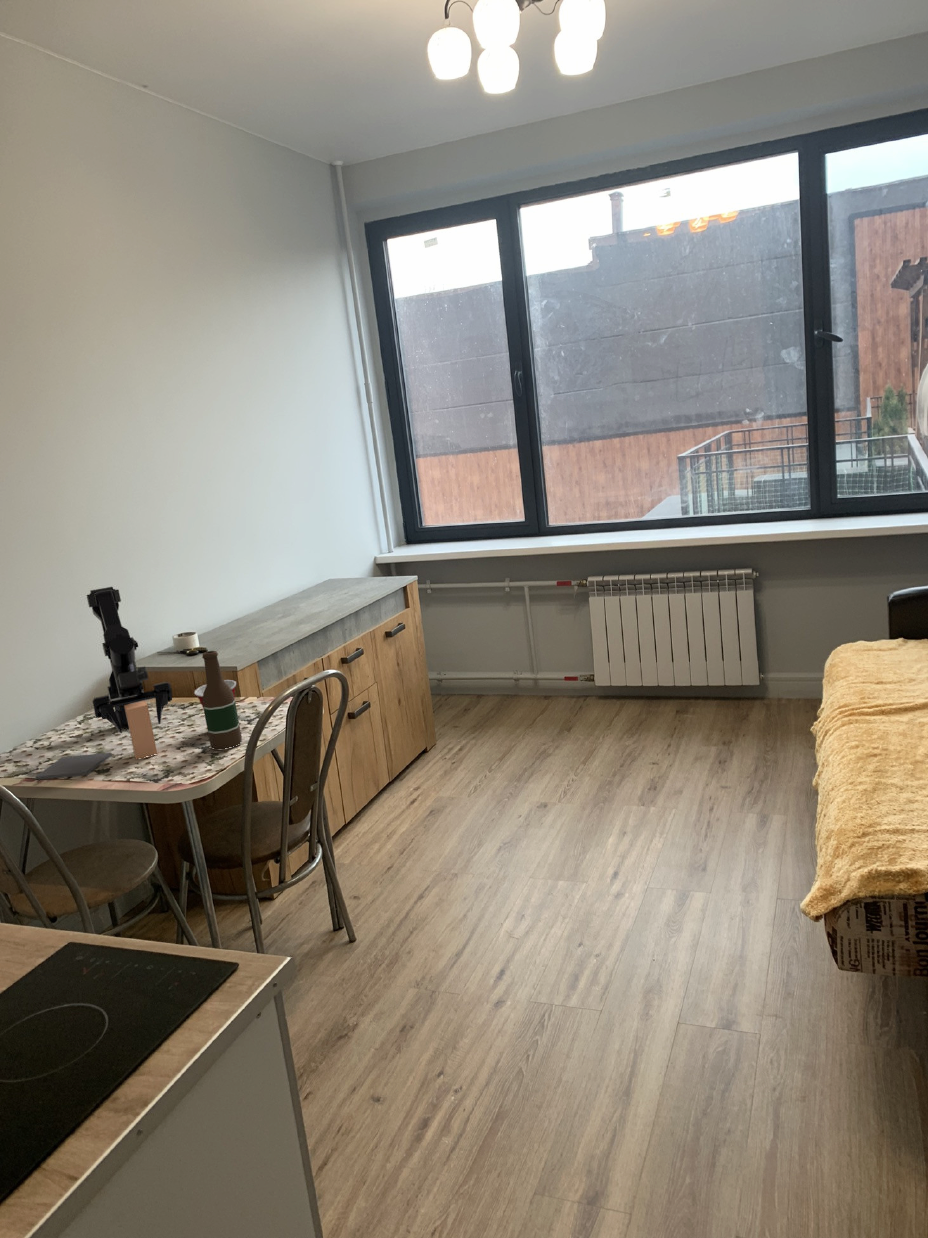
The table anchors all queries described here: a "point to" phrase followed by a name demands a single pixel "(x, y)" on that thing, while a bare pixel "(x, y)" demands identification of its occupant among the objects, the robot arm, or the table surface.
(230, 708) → the beer bottle
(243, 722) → the table surface
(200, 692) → the plastic cup
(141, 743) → the block
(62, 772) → the mat
